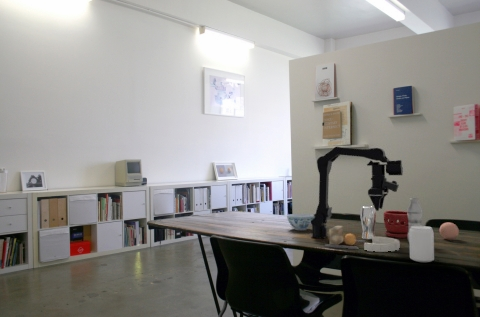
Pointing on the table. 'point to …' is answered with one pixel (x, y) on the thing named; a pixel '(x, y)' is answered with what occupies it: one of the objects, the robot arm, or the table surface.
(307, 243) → the table surface
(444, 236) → the toy ball
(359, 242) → the launcher rails
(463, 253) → the table surface
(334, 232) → the launcher plunger
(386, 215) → the plant pot
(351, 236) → the rubber ball
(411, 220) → the plastic bottle
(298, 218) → the chinaware
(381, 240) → the ring
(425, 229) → the beverage can
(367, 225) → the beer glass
